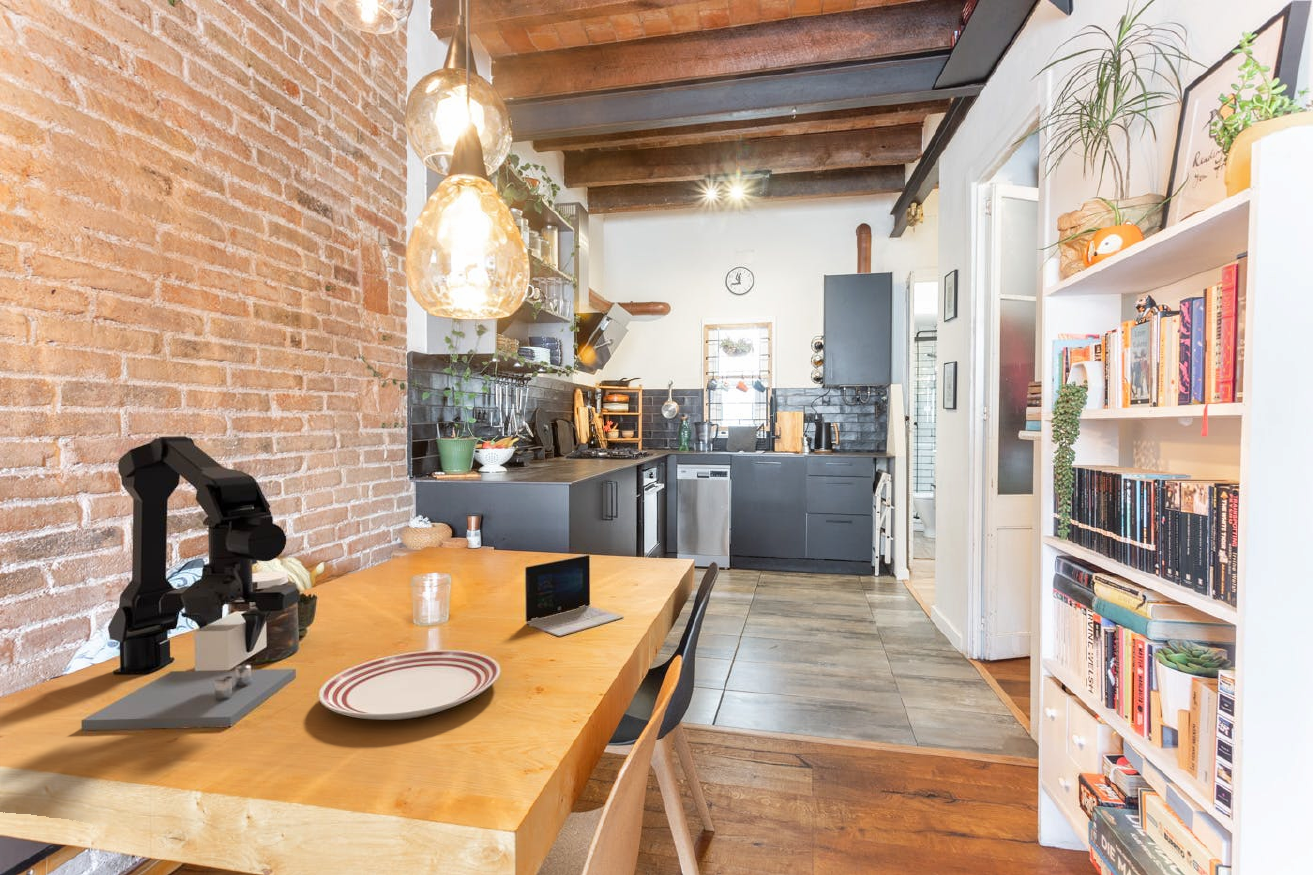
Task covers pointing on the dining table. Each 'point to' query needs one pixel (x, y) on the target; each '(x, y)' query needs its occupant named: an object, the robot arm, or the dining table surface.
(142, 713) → the board
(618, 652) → the dining table surface
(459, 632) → the dining table surface
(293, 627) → the jar
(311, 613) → the cup
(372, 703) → the dinner plate
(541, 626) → the laptop
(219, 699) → the stubs
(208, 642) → the housing
